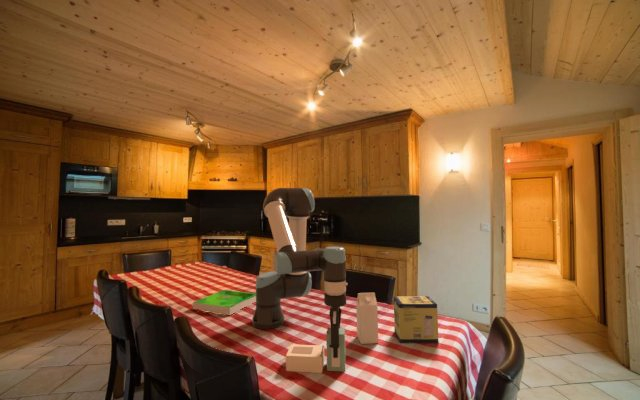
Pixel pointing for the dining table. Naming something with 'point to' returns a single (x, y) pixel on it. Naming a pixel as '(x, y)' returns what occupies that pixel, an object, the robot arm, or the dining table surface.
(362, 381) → the dining table surface
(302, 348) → the block
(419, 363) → the dining table surface
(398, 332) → the protein box
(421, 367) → the dining table surface
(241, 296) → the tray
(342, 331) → the pale green block
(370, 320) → the milk carton
